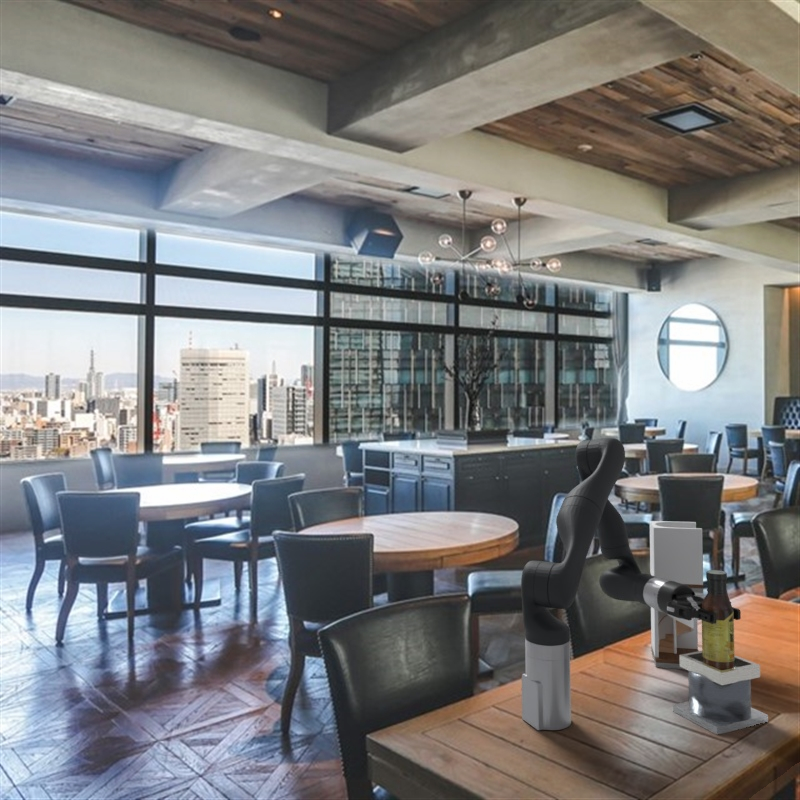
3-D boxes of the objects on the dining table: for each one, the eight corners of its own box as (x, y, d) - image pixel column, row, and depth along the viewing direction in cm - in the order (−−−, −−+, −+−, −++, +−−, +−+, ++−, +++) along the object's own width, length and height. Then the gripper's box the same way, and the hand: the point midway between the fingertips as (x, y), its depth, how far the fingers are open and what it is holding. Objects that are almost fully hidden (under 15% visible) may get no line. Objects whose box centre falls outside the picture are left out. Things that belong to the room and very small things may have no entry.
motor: (717, 734, 145) (716, 674, 145) (673, 711, 156) (672, 655, 156) (768, 722, 150) (767, 664, 150) (722, 700, 161) (721, 646, 161)
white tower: (655, 667, 182) (653, 527, 182) (651, 652, 192) (649, 520, 193) (704, 670, 179) (702, 528, 180) (697, 655, 190) (695, 522, 190)
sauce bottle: (738, 672, 149) (737, 576, 149) (705, 670, 151) (704, 575, 150) (730, 661, 156) (729, 569, 156) (699, 659, 157) (698, 568, 157)
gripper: (643, 583, 164) (701, 603, 148) (692, 577, 169) (752, 595, 154) (644, 617, 164) (701, 639, 148) (692, 609, 169) (752, 630, 154)
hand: (727, 616), depth 151 cm, fingers closed on sauce bottle, 6 cm apart
